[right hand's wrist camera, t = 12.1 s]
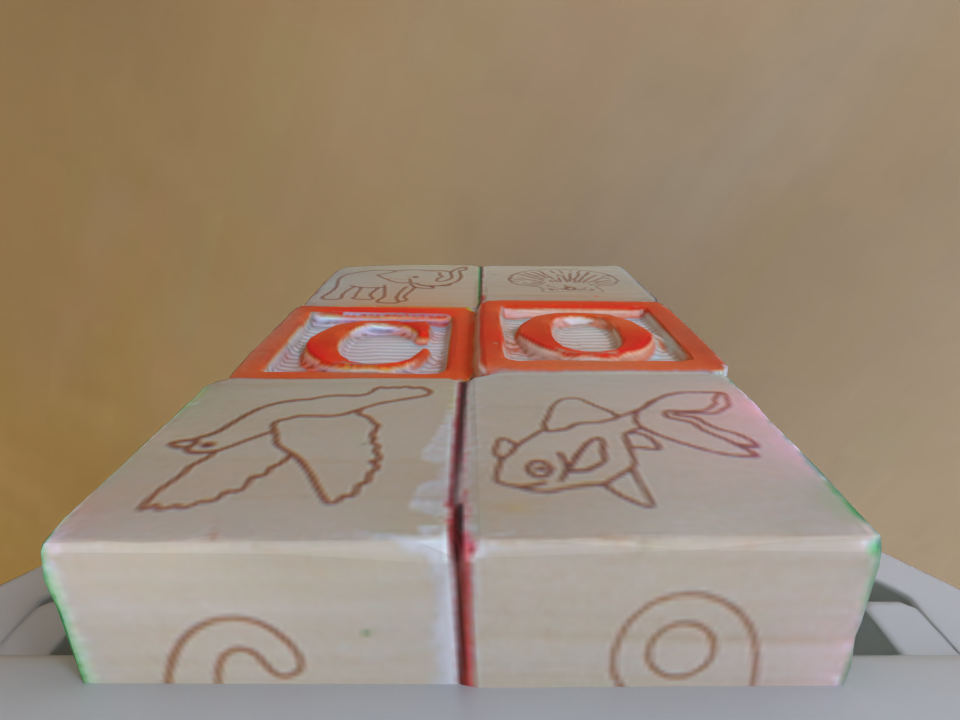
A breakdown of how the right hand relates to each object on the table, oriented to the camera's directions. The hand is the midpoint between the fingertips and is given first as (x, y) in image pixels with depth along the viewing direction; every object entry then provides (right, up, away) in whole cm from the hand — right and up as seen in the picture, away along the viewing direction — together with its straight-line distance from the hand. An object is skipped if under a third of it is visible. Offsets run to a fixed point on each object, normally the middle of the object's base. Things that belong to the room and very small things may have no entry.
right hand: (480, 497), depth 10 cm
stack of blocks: (0, -5, +6) cm, 8 cm away
